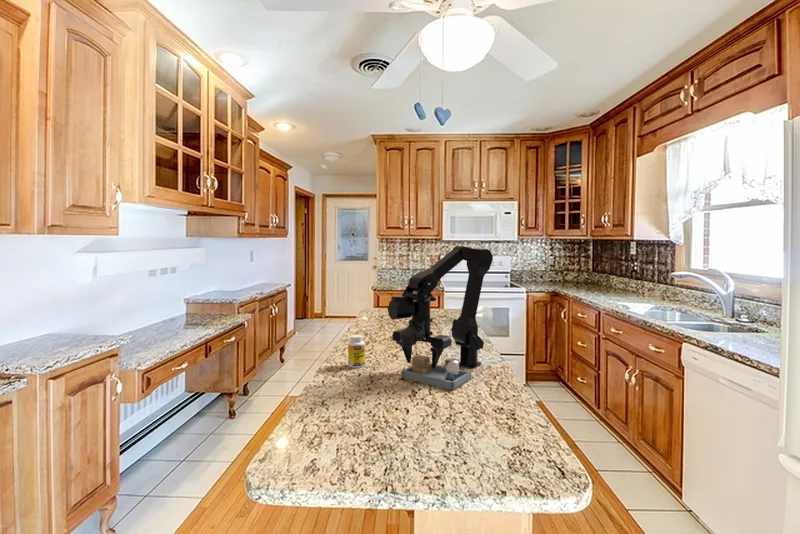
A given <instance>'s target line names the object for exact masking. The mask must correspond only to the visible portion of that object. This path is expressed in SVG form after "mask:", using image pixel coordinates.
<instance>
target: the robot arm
mask: <svg viewBox="0 0 800 534" xmlns="http://www.w3.org/2000/svg"><path fill="white" fill-rule="evenodd" d="M493 260H494V256H493V254H492V251H491V250H489V249H488V248H473V247H468V246H466V245H456V246H454V247H453V248H452V249H451V250H450V251H449V252H447V254H446V255H444V256H443V257H441V258H440V259H439V260H438V261H436V263H434V264H433V265H432V266H431V267H428V269H425V270H422V271H420V272H417V273H415V274H414V275H412V276H410V278H409V279H408V285H407V286H406V287H405V289H404V291H403V293H402V294H401V296H398V295H397V296H396V295H393V296H391V300H390V301H389V303H388V306H387V314H388V317H389V318H390V319H391V320H400V319H408V318H411V319H409V321H408V326H407V327H405V328H400V329H397V330H394V331H393V333H392V334H391V336H392V337H391V339H392V341H394V342H395V343H396V344H397V345H398V346H399V347H401V349H402V351H403V354H404V357H405V360H406V362H407V364H410V363H412V355H413V354H412V352H413V346H414V345H416V344H417V343H418V342H424V343H429V344H430V348H429V349H430V351H431V364H432V368H433V369H434V368H435V367H436V365H438V362H439V360H440V357H441V355H442V354H443V351H444V350H445V349H447V348H449V347H451V346H452V342H453V341H452V338H453V340H454V344H455V345H456V346H460V349H459V351H460V353H459V356H460V357H459V367H465V368H468V369H469V368H470V369H475V368H476V367H479V366H480V365H481V364H482V361H478V359H479V357H478V355H479V354H478V353H479V352H478V351H480V350H481V349H483V348H484V345H485V342H484V340H483V339H482V338H481V337H480V336H479V326H478V323H477V319H476V317H477V313H478V308H479V307H478V306H479V302H480V297H481V291H482V288H483V287H482V286H483V282H484V277H485V276H486V274H487V273H488V272H489V271H490V268H491V266H492V263H493ZM462 261H466V268H467V272H468V276H467V282H466V287H465V292H464V297H463V303H462V308H461V312H460V316H459V317H458V318H457V319H456V318H453V320H452V325H451V329H450V331H451V337H452V338H451V337H450V336H449V335H444V334H438V335H434V336H433V331H432V330H431V323H433V318H431V302H436V301H437V298H436V297H435V296H433V293H432V292H433V291H434V290H435V289H436V288H437V286H438V285H439V281H440V280H441V279H443V277H445V276H446V274H448V273H449V272H450V271H452V270H453V269H454V268H455V267H456V266H458V265H459V264H460V263H461V262H462Z"/></svg>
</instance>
